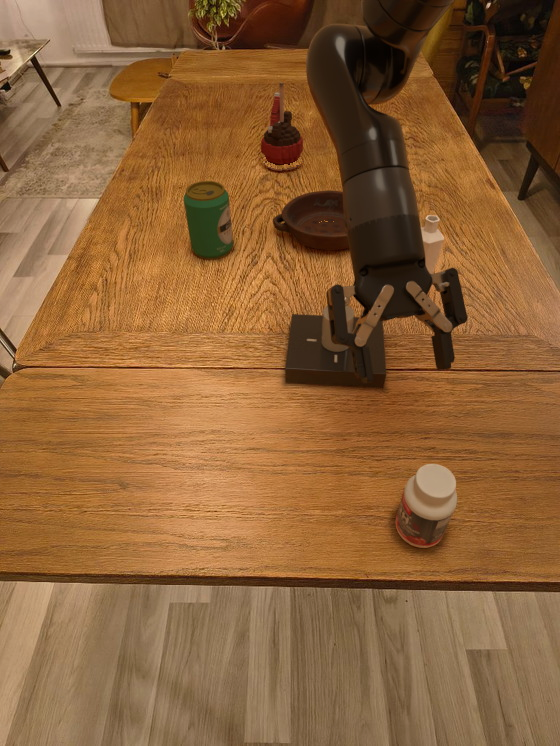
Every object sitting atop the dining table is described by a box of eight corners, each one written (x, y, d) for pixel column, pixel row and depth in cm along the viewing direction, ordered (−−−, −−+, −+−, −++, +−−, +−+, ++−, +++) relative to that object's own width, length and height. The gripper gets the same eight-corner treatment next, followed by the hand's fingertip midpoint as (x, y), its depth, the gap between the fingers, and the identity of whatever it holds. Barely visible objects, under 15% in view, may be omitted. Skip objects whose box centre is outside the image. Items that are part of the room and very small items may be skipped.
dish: (278, 209, 109) (278, 187, 105) (384, 214, 107) (387, 191, 103) (267, 255, 97) (266, 231, 93) (385, 261, 95) (389, 237, 91)
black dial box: (380, 332, 81) (382, 317, 79) (383, 388, 73) (386, 373, 71) (291, 328, 82) (291, 312, 80) (285, 383, 74) (285, 367, 72)
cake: (294, 176, 120) (294, 92, 107) (256, 171, 122) (252, 88, 109) (307, 158, 127) (309, 77, 114) (271, 153, 129) (269, 73, 116)
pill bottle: (384, 526, 58) (397, 478, 51) (413, 497, 61) (429, 448, 54) (424, 559, 55) (443, 514, 48) (452, 527, 58) (475, 480, 51)
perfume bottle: (397, 292, 88) (412, 211, 78) (422, 290, 89) (440, 209, 78) (405, 308, 85) (421, 227, 74) (430, 306, 85) (450, 225, 75)
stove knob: (319, 332, 77) (320, 301, 73) (348, 330, 77) (351, 300, 73) (323, 353, 74) (325, 322, 70) (353, 351, 74) (357, 319, 70)
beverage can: (222, 264, 95) (216, 203, 87) (184, 256, 97) (174, 196, 89) (240, 242, 100) (235, 183, 92) (203, 235, 102) (195, 176, 94)
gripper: (324, 221, 49) (351, 388, 49) (462, 203, 51) (488, 364, 51) (309, 241, 57) (333, 386, 57) (430, 224, 58) (452, 365, 59)
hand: (406, 375), depth 54 cm, fingers open, 8 cm apart
